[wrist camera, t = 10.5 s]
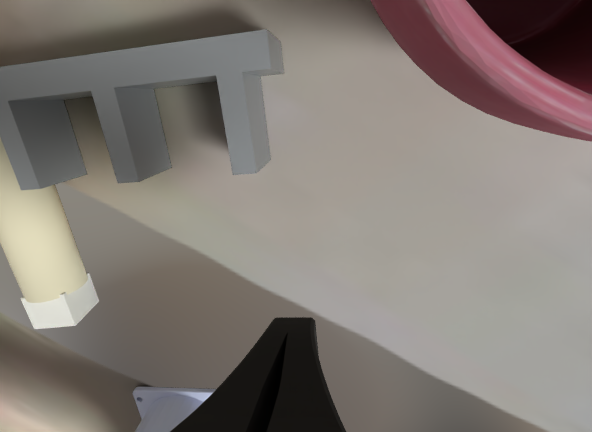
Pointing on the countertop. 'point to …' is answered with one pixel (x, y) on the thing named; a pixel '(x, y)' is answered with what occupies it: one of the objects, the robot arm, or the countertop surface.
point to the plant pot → (504, 56)
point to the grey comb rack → (134, 105)
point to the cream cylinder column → (42, 253)
